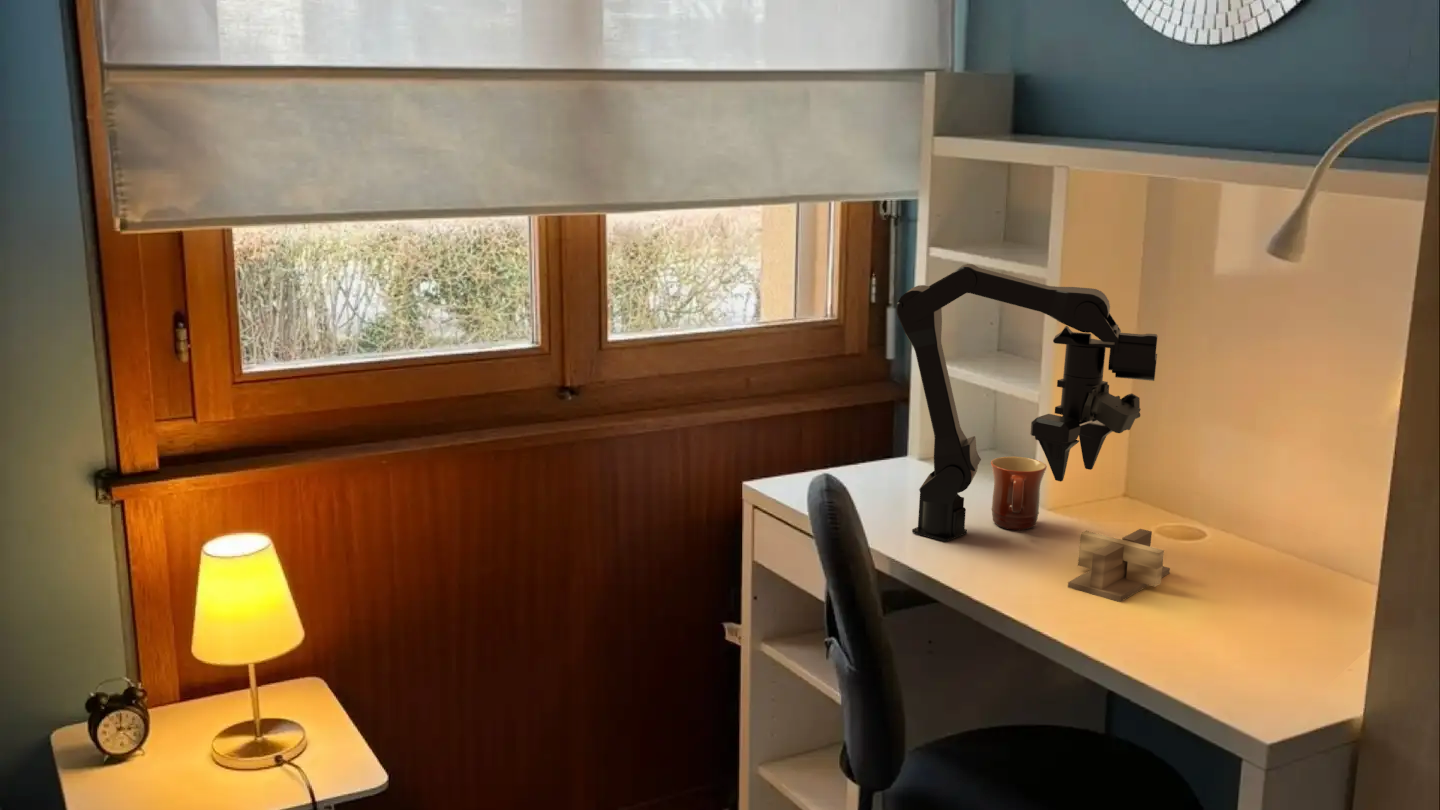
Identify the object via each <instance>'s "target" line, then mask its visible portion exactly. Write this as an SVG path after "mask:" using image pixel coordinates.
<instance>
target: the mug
mask: <svg viewBox="0 0 1440 810" xmlns="http://www.w3.org/2000/svg"><path fill="white" fill-rule="evenodd" d="M990 465H991V470H992V475H993V492H992V493H993V494H992V502H991V508H990V509H991V517H992V522H994V524H995V525H996V526H998V527H999V528H1002V529H1005V530H1010V531H1027V530H1030V529H1032V528H1033V527H1035V526H1036V524H1037V521H1038V518H1039V514H1040V512H1039V511H1040V501H1041V500H1040V499H1041V498H1040V497H1041V484H1042V480H1043V478H1044V475H1045V473H1046V471H1047V464H1046V463H1045V462H1043V461H1041V460H1038V459H1034V458H1029V457H1024V456H1002V457H1001V456H1000V457H996V458H993V459H992V460H991V461H990Z"/></svg>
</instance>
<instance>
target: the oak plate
mask: <svg viewBox="0 0 1440 810" xmlns="http://www.w3.org/2000/svg"><path fill="white" fill-rule="evenodd" d="M1079 535H1080V537H1079V546H1078V556H1077V557H1078V559H1077V567H1081V568H1085V569H1089V570H1091V569H1092V559H1093V553H1094V552H1096V551H1098V550H1100V549H1102V548H1104V547H1106V546H1108V545H1109V544H1111V543H1114V544H1118V545H1122V546H1124V552H1123V561H1127V562H1128V564H1127V575H1126V579H1129V580H1132V581H1136V582H1140V583H1143V584H1147V585H1148V586H1152V587H1157V586H1159V585H1161V584H1162V578H1161V576H1162V566H1164V555H1165V554H1164V553H1165V550H1164V549H1162V548H1161V549H1160V548H1158V547H1153V546H1151V545H1150V546H1146V545H1142V544H1138V543H1134V542H1130V541H1126V540H1122V538H1117V537H1114V536H1109V535H1106V534H1102V533H1097V532H1094V531H1090V530H1084V531H1083V532H1081V533H1080V534H1079Z"/></svg>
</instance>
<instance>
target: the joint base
mask: <svg viewBox="0 0 1440 810" xmlns="http://www.w3.org/2000/svg"><path fill="white" fill-rule="evenodd" d="M1152 533H1153V531H1152V530H1147V529H1143V528H1138V529H1137V530H1135V531H1132V533H1130V534H1128V535H1125V536H1123V537H1121V539H1122V540H1126V541H1130V542H1134V543H1138V544H1142V545H1146V546H1150V547H1151V543H1152ZM1123 552H1124V546H1122V545H1118V544H1114V543H1111V544H1109V545H1108V546H1106V547H1104V548H1102V549H1100V550H1098V551H1096V552H1094V553H1093V559H1092V569H1089V570H1088V571H1086V572H1084V573H1083V574H1080V575H1078V576H1076V577H1074V578H1073V579H1071V580H1069V581H1068V582H1067V583H1068V584H1067V588H1069V589H1073V590H1077V591H1080V592H1084V593H1088V594H1090V595H1091V594H1092V595H1095V596H1098V597H1101V598H1105V599H1108V600H1109V599H1110V600H1113V601H1116V602H1119V603H1122V602H1123V601H1125V600H1126V599H1128V598H1130V597H1131V596H1133V595H1134V594H1136V593H1138V592H1140V591H1141V590H1143V589H1145V588H1147V587H1148V586H1149V585H1147V584H1143V583H1140V582H1136V581H1132V580H1129V579H1126V575H1127V564H1128V562H1127V561H1123ZM1170 571H1171V567H1168V566H1165V565H1163V566H1162V576H1161V579H1162V578H1164V577H1166V576H1167V575H1169V574H1170V573H1171V572H1170Z"/></svg>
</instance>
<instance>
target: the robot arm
mask: <svg viewBox="0 0 1440 810" xmlns="http://www.w3.org/2000/svg"><path fill="white" fill-rule="evenodd" d="M966 294H972V295H976V296H980V297H984V298H987V299H991V300H995V301H998V302H1002V303H1006V304H1010V305H1013V306H1016V307H1021V308H1024V309H1029V310H1032V311H1036V312H1040V313H1042V314H1045V315H1047V316H1049V317H1050V318H1052V319H1054V320H1056V321H1058V322H1059V323H1061V324H1062V325H1063V324H1064V325H1065V326H1064V328H1063V329H1062V331H1060V332H1059V333H1057V334H1056V335H1055V336H1054V338H1053V339H1052V341H1053V343H1054V344H1056V345H1057V344H1058V345H1060V344H1061V345H1065V355H1064V364H1063V365H1064V367H1063V376H1062V377H1063V378H1060V379H1057V380H1056V381H1057V383H1056V387H1057V388H1061V401H1060V405H1056V406H1055V407H1054V414H1053V413H1052V414H1051V413H1047V414H1044V415H1040V416H1037V417H1036V418H1035V419H1033V420H1032V421H1031V424H1030V435H1031V437H1034V439H1035V440H1036V441H1038V444H1039V445H1040V446H1041V449H1042V451H1043V454H1044V455H1045V458H1046V460H1047V463H1048V465H1049V467H1050V470H1051V473H1052V475H1053V478H1054V480H1055V481H1057V482H1063V481H1064V479H1065V475H1066V470H1067V464H1068V460H1069V456H1070V451H1071V449H1072V448H1074V447H1075V446H1076V445H1077V444H1079V443H1080V451H1081V455H1082V460H1083V465H1084V466H1083V467H1084V469H1086V470H1093V468H1094V466H1095V464H1096V462H1097V459H1098V456H1099V453H1100V451H1101V450H1102V446H1103V444H1104V442H1105V440H1106V438H1107V437H1108V435H1110V434H1111V433H1116V434H1122V433H1123V432H1126V431H1129V430H1131V428H1132V426H1133V425H1134V423H1135V421H1136V419H1139V418H1140V417H1141V408H1140V397H1139V396H1137V395H1136V394H1134V393H1128V394H1125V395H1124V396H1123V397H1121V396H1120V395H1117V396H1115V395H1113V394H1111V393H1110V384H1108V383H1109V382H1108V381H1105V380H1104V368H1105V367H1104V366H1105V358H1106V350H1107V349H1109V354H1108V355H1109V356H1108V368H1107V369H1108V371H1111V373H1112V374H1115V375H1114V378H1120V379H1128V380H1129V379H1130V380H1139V381H1140V380H1141V381H1152V382H1154V381H1155V378H1156V369H1157V359H1158V353H1157V347H1158V346H1157V345H1158V334H1156V333H1142V334H1141V333H1140V334H1139V333H1130V332H1129V333H1128V332H1122V331H1121V328H1120V327H1119V324H1117V322H1116V321H1115V319H1114V318H1113V316H1112V315H1111V313H1110V311H1111V306H1110V305H1111V304H1110V300H1109V299H1108V297H1107V295H1106V294H1105V293H1104V292H1103V291H1101V290H1099V289H1098V288H1097V289H1096V288H1090V287H1078V286H1055V285H1054V286H1053V285H1047V284H1043V283H1040V282H1035V281H1033V280H1028V279H1024V278H1020V277H1015V276H1012V275H1009V274H1004V273H1001V272H998V271H993V270H990V269H985V268H983V267H979V266H977V265H975V264H972V263H966V264H963V265H961V266H960V267H959V268H957V269H956V270H955V271H954V272H951V273H950V274H947V275H946V276H944V277H942V278H941V279H939V280H937V281H935V282H934V283H932V284H930V285H924V284H922V285H921V284H919V285H916V286H914V287H912V288H910V289H909V290H908V291H906V292H905V293H904V294H902V295H901V297H900V298H899V300H898V301H897V303H896V315H897V317H898V319H899V322H900V324H901V326H902V327H901V328H902V330H903V331H904V334H905V335H906V337H907V339H908V340H909V342H910V345H911V346H912V348H913V350H914V351H915V357H916V361H917V364H918V369H919V374H920V378H921V382H922V387H923V392H924V396H925V399H926V400H925V401H926V404H927V410H928V414H929V418H930V421H931V426H932V431H933V437H934V444H933V471H931V473H930V474H928V476H927V477H926V479H925V480H924V482H923V483H922V485H921V486H920V488H919V489H918V490H919V503H918V504H919V505H918V520H917V526H916V527H914V528H912V529H911V532H912V533H913V534H917V535H919V536H923V537H928V538H931V539H933V540H934V539H935V540H938V541H942V542H949V541H951V540H953V539H956V538H959V537H960V536H962V535H965V534H967V533H968V529H967V528H965V526H966V513H967V512H966V507H964V503H965V502H964V501H965V497H963V496H961V495H959V494H960V493H963V492H964V491H966V490H967V489H968V488H969V486H970V485H971V484H972V482H973V480H974V478H975V476H976V475H977V473H978V469H979V464H980V462H981V460H982V458H981V457H980V455H979V454H978V453H979V452H978V451H977V440H976V436H971V437H969V438H967V436H966V435H965V433H964V431H963V430H962V428H961V424H960V420H959V416H958V411H957V407H956V402H955V398H954V394H953V389H952V385H951V380H950V376H949V371H948V370H949V369H948V367H947V362H946V356H945V353H944V349H943V344H942V327H943V314H942V308H944V307H945V306H947V305H949V304H950V303H952V302H954V301H956V300H958V299H959V298H960V297H962V296H963V295H966ZM1070 328H1072V329H1075V330H1077V331H1078V332H1077V331H1073V330H1072V329H1070ZM1092 335H1094V336H1095V337H1096V338H1097V339H1095V338H1092ZM1106 348H1107V349H1106Z"/></svg>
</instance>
